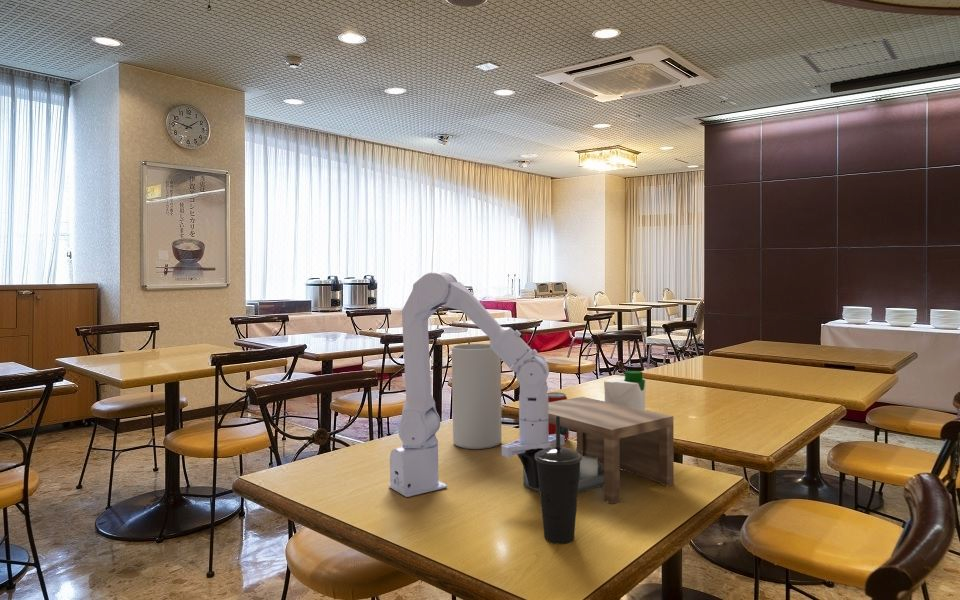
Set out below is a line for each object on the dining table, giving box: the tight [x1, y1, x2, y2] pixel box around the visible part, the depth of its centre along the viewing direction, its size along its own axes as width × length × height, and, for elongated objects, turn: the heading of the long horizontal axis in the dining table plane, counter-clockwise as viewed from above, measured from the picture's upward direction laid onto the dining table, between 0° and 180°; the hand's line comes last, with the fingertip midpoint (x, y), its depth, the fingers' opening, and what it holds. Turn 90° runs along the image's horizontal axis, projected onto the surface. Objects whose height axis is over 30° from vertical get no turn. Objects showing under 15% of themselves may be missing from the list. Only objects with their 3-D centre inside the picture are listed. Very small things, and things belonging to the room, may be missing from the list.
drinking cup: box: [535, 416, 582, 545], centre depth 100 cm, size 8×8×20 cm
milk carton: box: [603, 370, 647, 410], centre depth 146 cm, size 9×9×20 cm
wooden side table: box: [548, 396, 675, 505], centre depth 131 cm, size 18×26×14 cm
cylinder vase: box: [451, 343, 503, 450], centre depth 158 cm, size 12×12×25 cm
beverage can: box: [547, 392, 570, 440], centre depth 160 cm, size 7×7×12 cm
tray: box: [522, 450, 604, 494], centre depth 126 cm, size 16×10×5 cm, turn 125°
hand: (534, 486), depth 121 cm, fingers closed
